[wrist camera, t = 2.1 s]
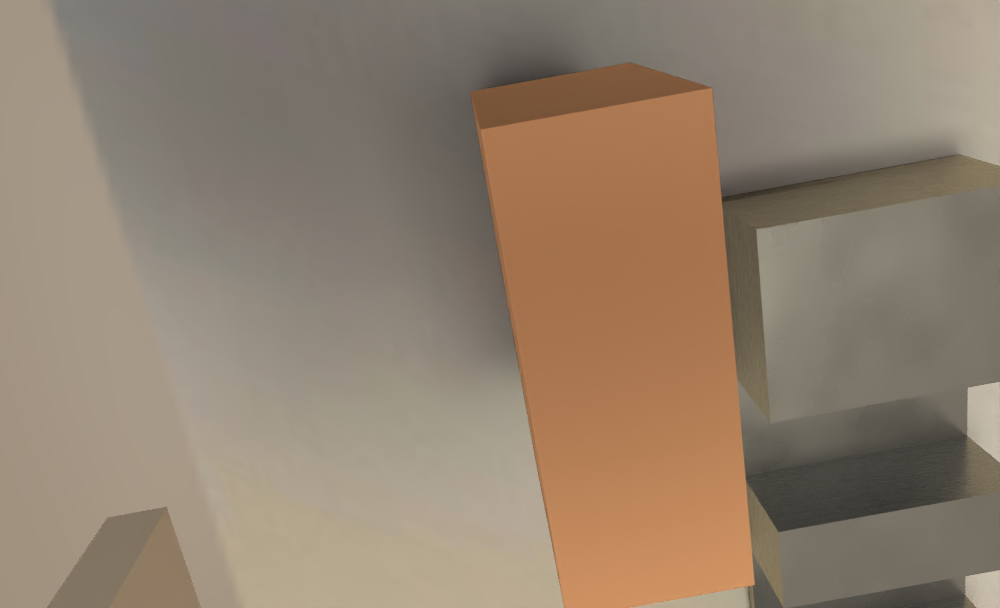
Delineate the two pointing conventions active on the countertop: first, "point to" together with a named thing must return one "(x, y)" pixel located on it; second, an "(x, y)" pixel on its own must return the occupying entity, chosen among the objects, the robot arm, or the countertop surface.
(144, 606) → the robot arm
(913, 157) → the countertop surface
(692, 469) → the orange block
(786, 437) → the grey block fixture
